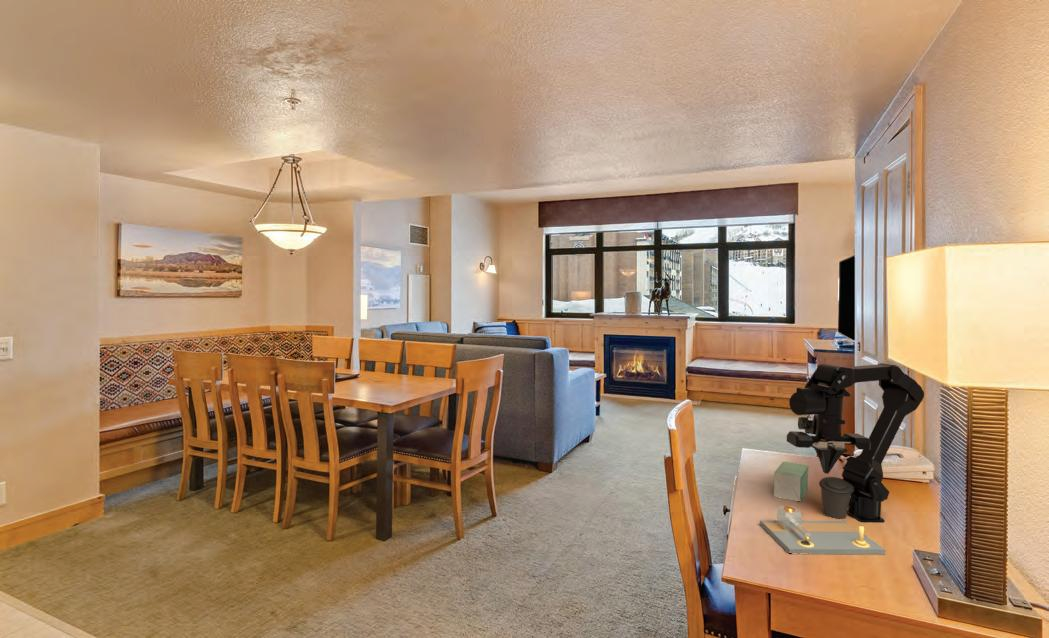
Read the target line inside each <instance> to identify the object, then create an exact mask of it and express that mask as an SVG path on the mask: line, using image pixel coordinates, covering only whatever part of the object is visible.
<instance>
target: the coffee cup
mask: <svg viewBox="0 0 1049 638" xmlns="http://www.w3.org/2000/svg"><path fill="white" fill-rule="evenodd" d="M818 484H819V487H820V490H821V491H820V494H821V502H822V513H823V515H824V514H825V515H824V516H826V517H828V518H830V517H831V519H834V518H835V520H845V519H847V516H848V515H847V514H848V513H847V511H848V510H849V502H850V498H851V493H852V492H854V488H853V486H852V484H850V483H848V482H847V481H845V480H843V478H842V477H841V478H840V477H834V476H826V477H823V478H821V479H820V480H819V482H818Z"/></svg>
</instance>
